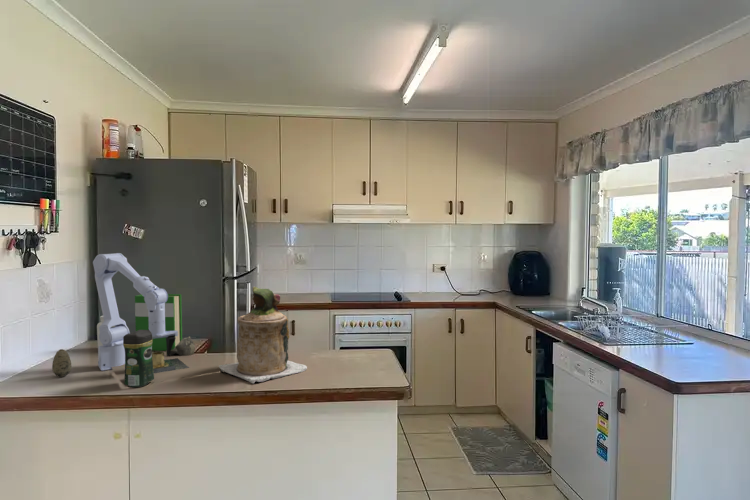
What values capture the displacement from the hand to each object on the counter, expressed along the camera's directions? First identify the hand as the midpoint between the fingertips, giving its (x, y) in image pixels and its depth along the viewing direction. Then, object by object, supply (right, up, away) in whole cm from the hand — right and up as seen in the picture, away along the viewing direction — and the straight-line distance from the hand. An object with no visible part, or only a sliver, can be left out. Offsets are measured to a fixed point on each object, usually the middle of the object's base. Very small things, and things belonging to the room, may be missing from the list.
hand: (157, 357), depth 194 cm
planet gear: (0, -4, 0) cm, 4 cm away
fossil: (0, -5, +24) cm, 24 cm away
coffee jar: (0, -6, -15) cm, 17 cm away
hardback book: (-14, -4, +36) cm, 39 cm away
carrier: (+1, -5, +4) cm, 6 cm away
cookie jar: (+40, -6, 0) cm, 40 cm away
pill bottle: (-37, -4, +35) cm, 51 cm away
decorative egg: (-32, -6, -6) cm, 33 cm away
